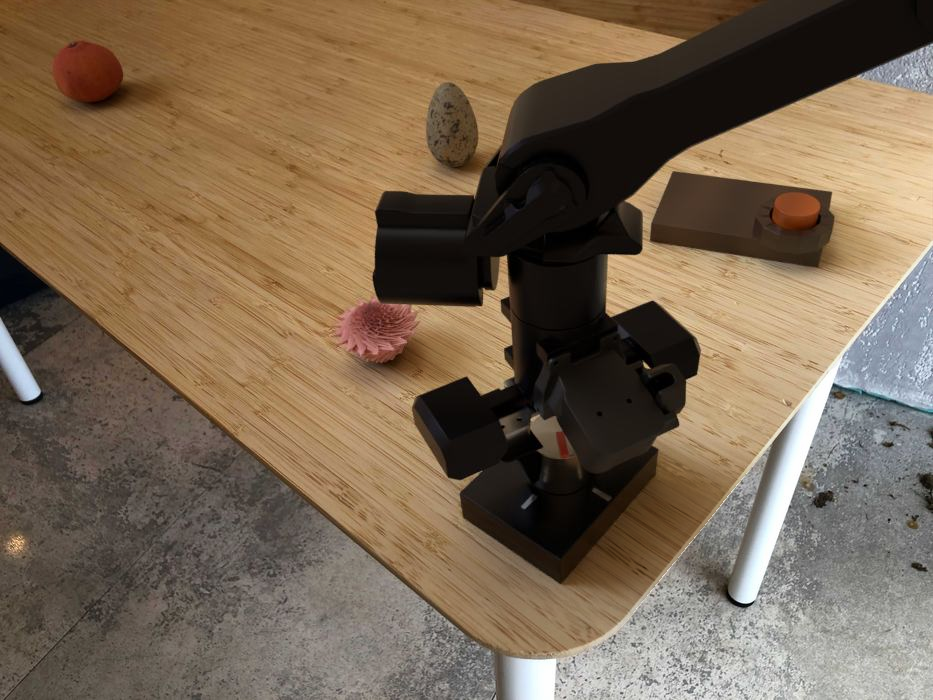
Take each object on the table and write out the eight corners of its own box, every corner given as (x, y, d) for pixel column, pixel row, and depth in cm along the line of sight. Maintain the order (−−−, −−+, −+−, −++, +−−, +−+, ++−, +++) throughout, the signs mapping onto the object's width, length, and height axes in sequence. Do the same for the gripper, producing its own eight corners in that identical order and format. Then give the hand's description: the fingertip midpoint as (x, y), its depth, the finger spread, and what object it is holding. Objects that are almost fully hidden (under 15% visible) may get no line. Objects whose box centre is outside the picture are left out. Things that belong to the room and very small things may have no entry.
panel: (560, 421, 69) (560, 394, 67) (656, 474, 64) (659, 447, 62) (462, 517, 63) (458, 491, 61) (560, 584, 58) (560, 559, 56)
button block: (832, 210, 86) (841, 176, 84) (821, 277, 79) (830, 242, 76) (671, 188, 92) (674, 155, 89) (646, 249, 84) (648, 215, 82)
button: (818, 211, 81) (822, 195, 79) (814, 234, 78) (818, 219, 77) (774, 205, 82) (777, 189, 81) (769, 228, 79) (772, 212, 78)
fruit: (52, 110, 119) (27, 54, 114) (92, 81, 125) (71, 27, 120) (102, 116, 116) (79, 60, 111) (141, 86, 122) (121, 32, 117)
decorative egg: (454, 145, 102) (445, 66, 96) (491, 160, 99) (485, 79, 92) (419, 167, 99) (408, 87, 93) (456, 182, 96) (447, 101, 89)
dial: (525, 450, 63) (523, 411, 60) (584, 443, 63) (585, 403, 60) (534, 498, 60) (532, 459, 57) (596, 490, 60) (597, 451, 57)
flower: (403, 393, 73) (393, 345, 69) (321, 375, 75) (307, 328, 71) (438, 333, 78) (431, 286, 74) (360, 318, 80) (350, 271, 77)
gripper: (479, 450, 42) (497, 612, 53) (776, 320, 47) (738, 492, 58) (393, 324, 50) (424, 488, 61) (657, 224, 55) (643, 391, 66)
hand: (559, 466), depth 61 cm, fingers closed on dial, 4 cm apart
